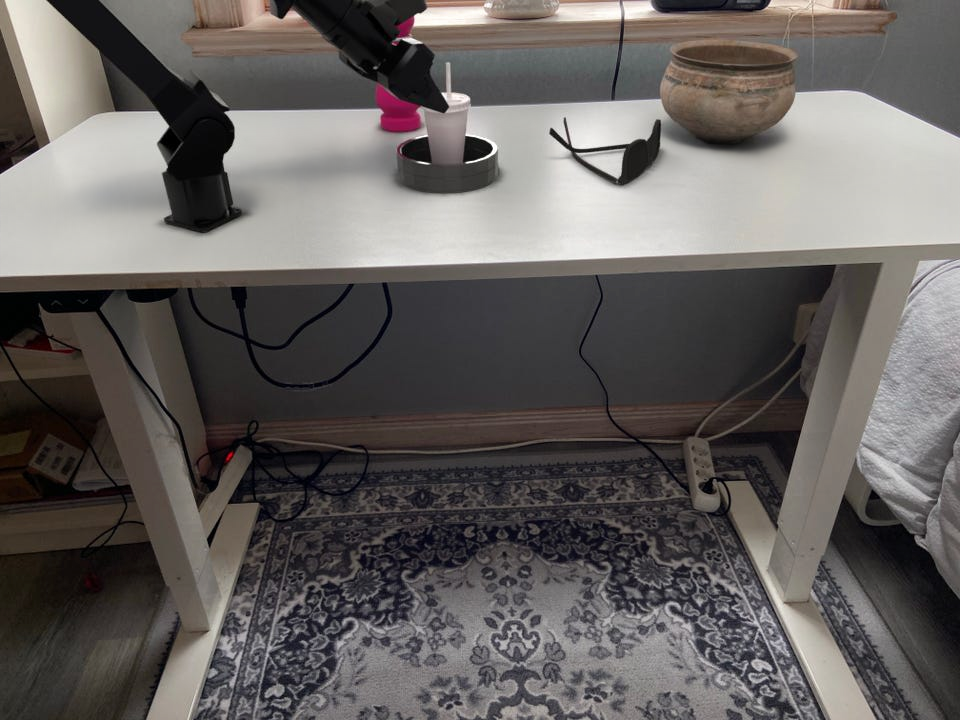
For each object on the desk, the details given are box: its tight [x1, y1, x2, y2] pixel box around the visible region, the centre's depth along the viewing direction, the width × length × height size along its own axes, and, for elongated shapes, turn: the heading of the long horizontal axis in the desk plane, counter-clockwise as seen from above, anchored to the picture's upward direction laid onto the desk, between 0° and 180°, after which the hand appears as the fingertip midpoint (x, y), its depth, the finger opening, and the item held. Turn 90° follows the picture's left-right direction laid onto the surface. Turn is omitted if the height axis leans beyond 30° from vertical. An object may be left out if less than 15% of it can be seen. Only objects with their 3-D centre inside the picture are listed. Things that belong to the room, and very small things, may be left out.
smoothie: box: [420, 61, 472, 164], centre depth 96 cm, size 6×6×14 cm
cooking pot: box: [659, 39, 799, 145], centre depth 110 cm, size 25×19×12 cm
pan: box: [395, 133, 499, 194], centre depth 99 cm, size 13×13×4 cm
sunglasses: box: [548, 116, 662, 185], centre depth 103 cm, size 17×14×5 cm
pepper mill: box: [375, 16, 421, 133], centre depth 114 cm, size 7×7×20 cm
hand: (431, 101), depth 94 cm, fingers open, 9 cm apart
